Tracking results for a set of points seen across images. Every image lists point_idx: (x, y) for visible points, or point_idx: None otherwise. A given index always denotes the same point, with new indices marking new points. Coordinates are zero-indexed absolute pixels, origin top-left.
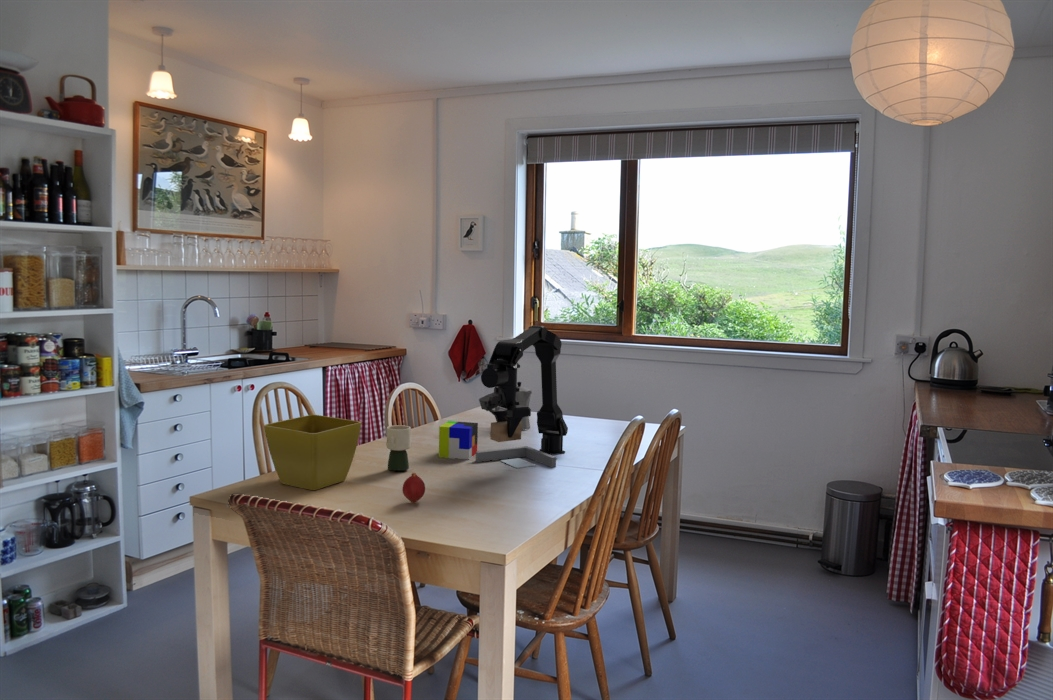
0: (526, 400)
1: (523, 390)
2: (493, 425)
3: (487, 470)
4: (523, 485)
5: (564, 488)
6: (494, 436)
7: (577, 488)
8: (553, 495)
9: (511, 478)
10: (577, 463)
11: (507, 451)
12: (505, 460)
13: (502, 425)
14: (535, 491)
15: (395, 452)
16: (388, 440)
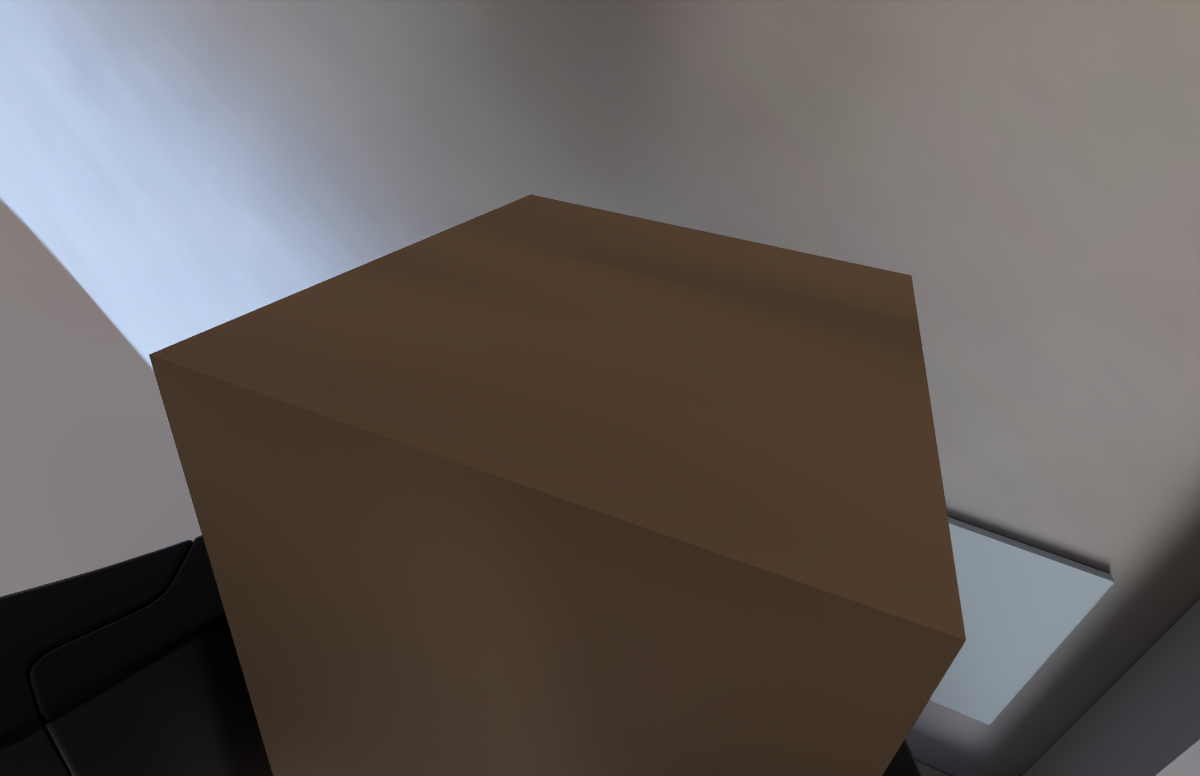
0: None
1: None
2: (660, 457)
3: (955, 166)
4: (295, 54)
5: (163, 253)
6: (688, 266)
7: (150, 313)
8: (39, 53)
9: (520, 139)
10: None
11: (1138, 758)
12: (1053, 603)
13: (213, 495)
14: (134, 8)
15: None
16: None
